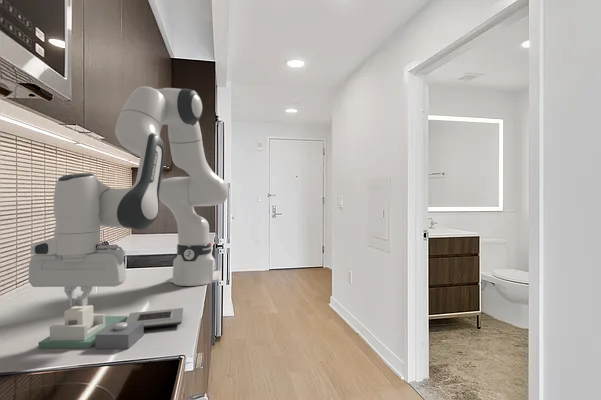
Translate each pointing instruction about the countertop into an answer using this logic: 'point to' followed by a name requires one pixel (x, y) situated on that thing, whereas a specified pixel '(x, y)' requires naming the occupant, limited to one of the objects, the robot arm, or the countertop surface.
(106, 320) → the board
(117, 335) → the grey push button
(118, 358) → the countertop surface
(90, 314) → the plug
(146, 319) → the electrical outlet
